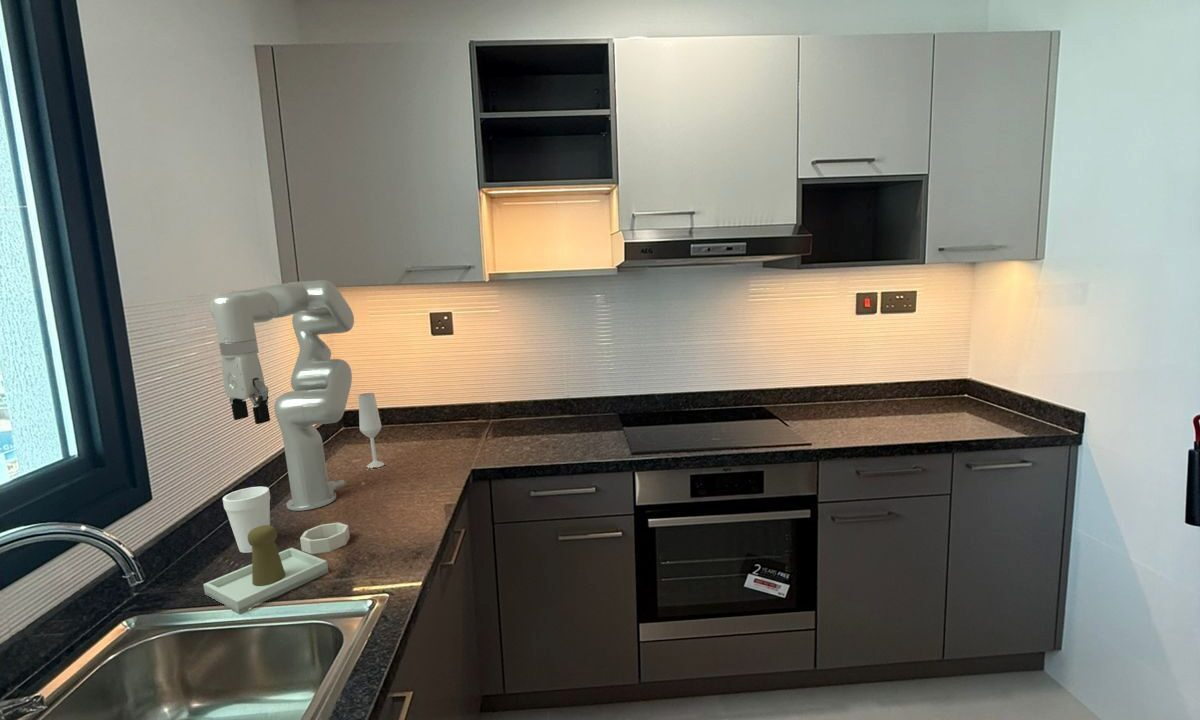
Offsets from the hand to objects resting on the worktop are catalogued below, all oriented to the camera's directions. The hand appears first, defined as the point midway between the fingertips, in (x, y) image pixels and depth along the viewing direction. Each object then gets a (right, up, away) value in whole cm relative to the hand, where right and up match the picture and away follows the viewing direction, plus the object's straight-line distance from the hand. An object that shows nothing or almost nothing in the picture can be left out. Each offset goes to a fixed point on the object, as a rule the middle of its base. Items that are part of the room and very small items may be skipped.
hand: (252, 420), depth 146 cm
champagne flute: (+8, -21, +57) cm, 62 cm away
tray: (+14, -31, -19) cm, 39 cm away
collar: (+18, -29, -1) cm, 34 cm away
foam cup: (+1, -30, 0) cm, 30 cm away
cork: (+14, -31, -19) cm, 39 cm away
